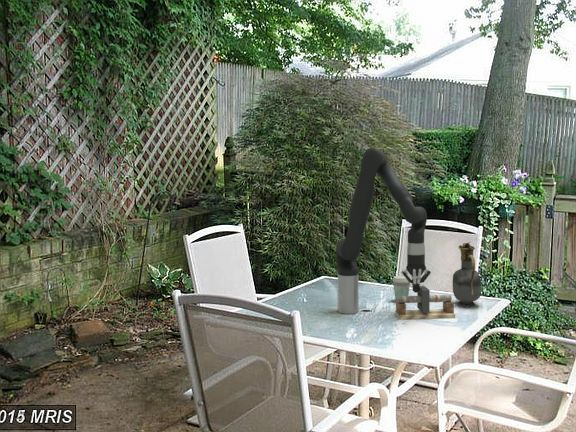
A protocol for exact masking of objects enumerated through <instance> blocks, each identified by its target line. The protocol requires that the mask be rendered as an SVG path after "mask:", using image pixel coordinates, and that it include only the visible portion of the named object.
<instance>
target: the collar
mask: <svg viewBox="0 0 576 432" xmlns="http://www.w3.org/2000/svg"><path fill="white" fill-rule="evenodd" d="M430 294H431V293H430V289H429V288H428V287H426V286H425V285H420V290H419V291H418V292H417V293H416V296H421V303H416V306H417V307H416V308H417V310H420V311H421V312H422V313H430V309H431V308H430V303H431V302H430Z"/></svg>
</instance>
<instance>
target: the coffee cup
mask: <svg viewBox="0 0 576 432" xmlns="http://www.w3.org/2000/svg"><path fill="white" fill-rule="evenodd" d="M408 277H409V278H410V276H408ZM410 279H411V278H410ZM392 282H393V290H394V291H393V292H394V299H395V300H394V301H395V303H396V302H398V296H410V295H409V293H410V285H411V283H410V282H409V281H408V280H407V279H406V278H405V277H404V275H394V276H393V278H392Z"/></svg>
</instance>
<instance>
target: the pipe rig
mask: <svg viewBox="0 0 576 432" xmlns="http://www.w3.org/2000/svg"><path fill="white" fill-rule="evenodd" d="M452 297H453V296H452V294H433V295H432V294H431V295H430V303H442V308H436V309H435V308H433V309H431V308H430V313H422V312H421V311H420V310H419V309H407V304H414V303H416V304H417V303H421V296H417V295H408V296H398V302H396V301H395V309H394V315H396V317H397V318H398V320H400V321H401V320H402V321H403V320H426V319H427V320H429V319H437V320H438V319H455V318H456V313H455V303H454V302H453V301H452Z"/></svg>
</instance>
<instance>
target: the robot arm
mask: <svg viewBox="0 0 576 432" xmlns="http://www.w3.org/2000/svg"><path fill="white" fill-rule="evenodd" d="M377 175H378V176H379V177H380V178H381V180H382V181H383V182H384V184H385V186H386V188H387V190H388V192H389V194H390V195H391V197H392V198H393V200H394V201H395V202H396V205H398V207H399V209H400V212H401V214H402V216H403V218H404V220H405V221H406V222H407V223H409V224H411V226H410V229H409V230H407V245H406V246H407V247H406V253H407V254H406V267H405V269H404V270H401V274H402V276H404V277H405V278H406V279H407V280H408V281H409V282H410V284H412V287H411V289H412V291H413V293H416V294H417V292H418V291H419V290H420V286H421V284H422V283H425V281H426V280H427V278H429V276H430V275H431V271H430V270H429V269H427V266H426V246H425V229H426V227H427V226H426V225H427V221H428V214H427V210H426V209H425V208H424V207H422V206H416V205H414V203H413V200H414V197H413V195H412V194H411V193H410V191H409V190H408V189H407V187H406V186H405V185H404V183H403V182H402V181H401V180H400V178H399V176H397V174H396V172H395V171H394V169H393V168H392V166H391V164H390V162H389V160H388V158H387V156H386V154H385V152H383V151H382V150H381V149H379V148H377V147H374V146H373V147H369V148H367V149H366V150H365V151H364V153H363V154H362V159H361V165H360V170H359V175H358V179H357V182H356V185H355V188H354V192H353V196H352V198H351V201H350V204H349V205H350V206H349V211H348V229H347V232H346V235H345V237H344V238H341V239H340V240H339V241H338V242H337V244H336V247H335V261H336V262H335V263H336V269H337V295H336V297H337V299H336V300H337V311H338V314H346V315H352V314H353V315H354V314H357V313H359V312H360V311H359V310H360V308H359V307H360V305H359V302H360V301H359V298H360V297H359V294H360V293H359V267H358V264H357V258H358V257H359V255H360V254H361V253H360V252H361V249H362V243H363V237H364V233H365V229H366V227H367V224H368V223H367V222H368V219H369V216H370V213H371V210H372V206H373V202H374V195H375V194H374V193H375V187H374V186H375V179H376V176H377ZM408 274H409V275H410V276H411V278H409V277H410V276H409V275H408Z"/></svg>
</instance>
